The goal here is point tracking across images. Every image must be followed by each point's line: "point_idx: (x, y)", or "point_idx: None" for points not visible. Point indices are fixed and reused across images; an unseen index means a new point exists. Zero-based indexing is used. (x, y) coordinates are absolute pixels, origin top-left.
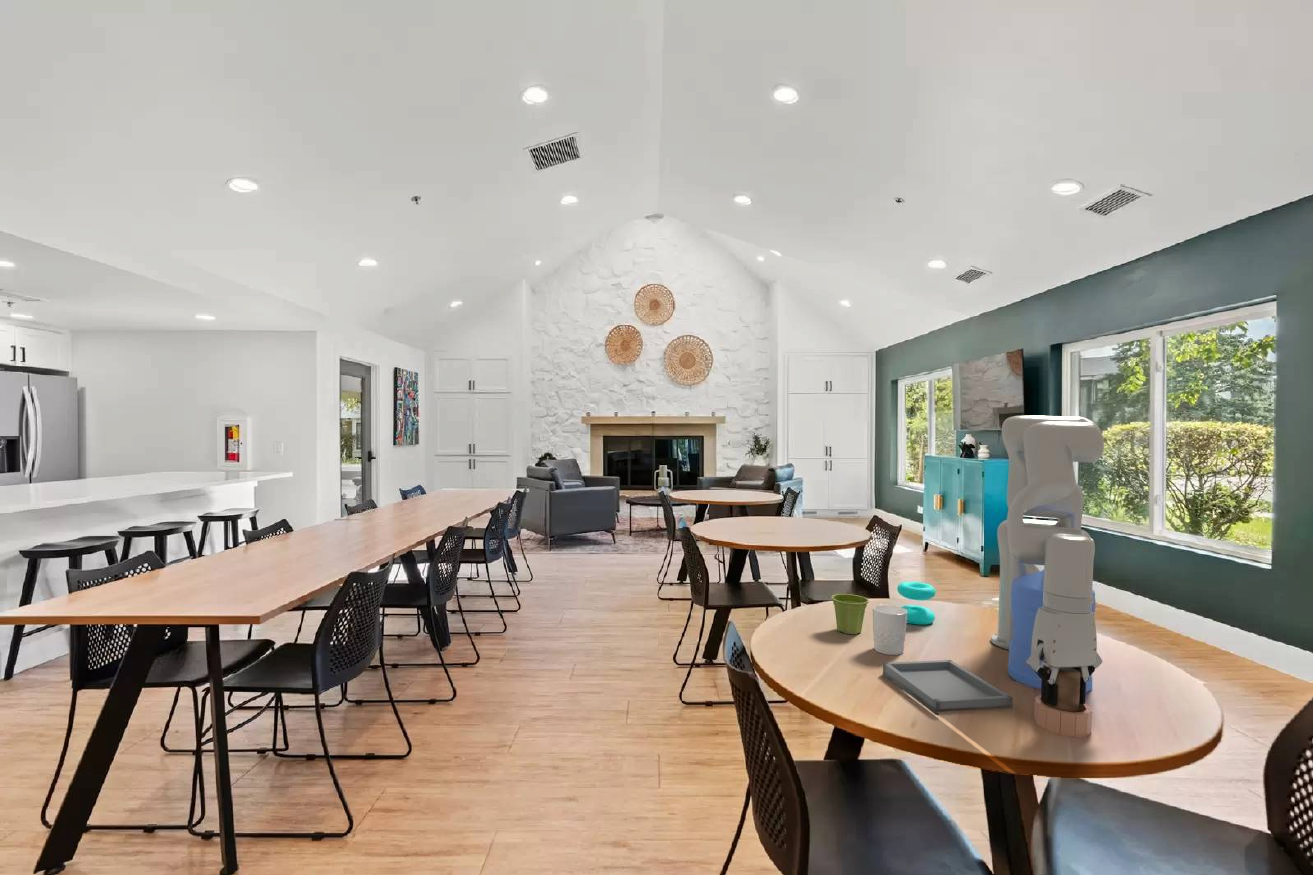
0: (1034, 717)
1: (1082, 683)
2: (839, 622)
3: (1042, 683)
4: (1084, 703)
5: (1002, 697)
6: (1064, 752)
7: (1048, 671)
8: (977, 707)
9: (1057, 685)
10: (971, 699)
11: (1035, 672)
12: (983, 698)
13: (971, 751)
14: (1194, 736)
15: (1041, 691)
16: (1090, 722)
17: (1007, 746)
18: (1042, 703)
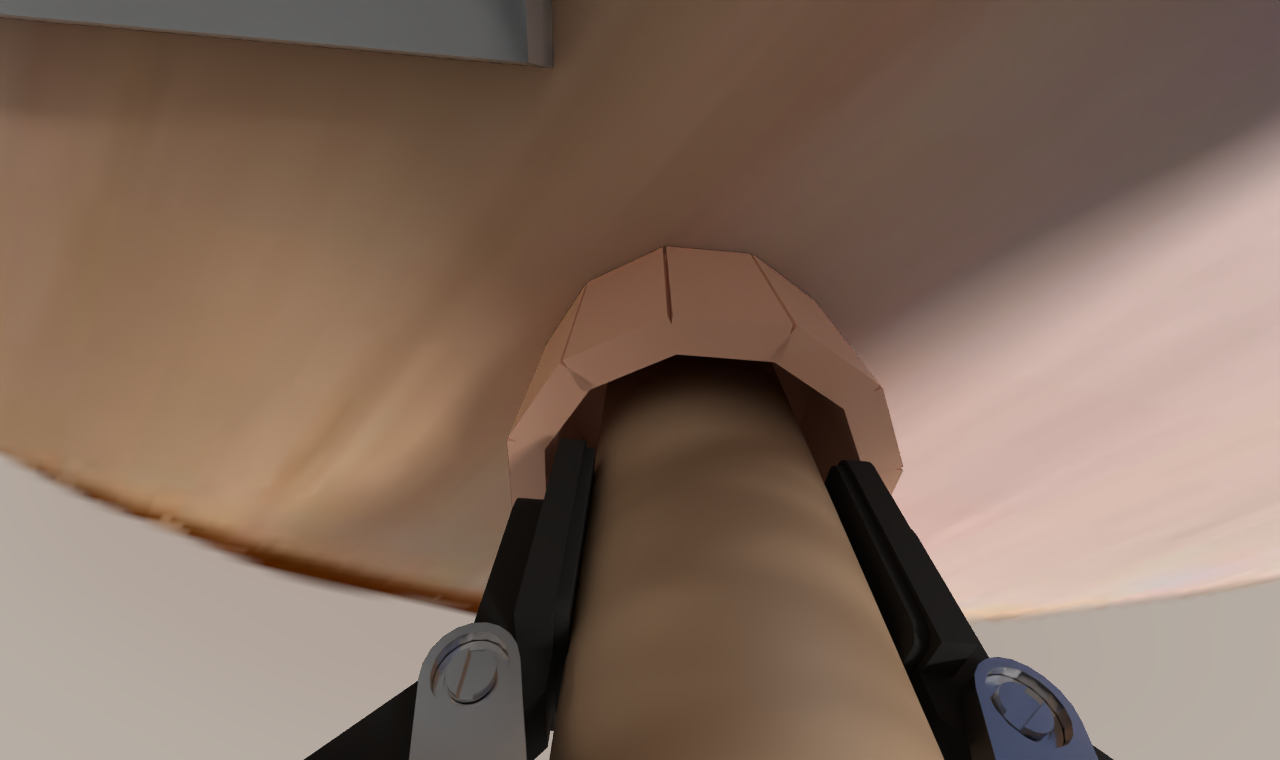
0: (577, 301)
1: None
2: None
3: (482, 613)
4: None
5: (412, 39)
6: (498, 547)
7: (571, 745)
8: (179, 32)
9: (554, 722)
10: (24, 11)
11: (310, 756)
12: (177, 13)
13: (55, 474)
14: (1241, 558)
15: (506, 528)
16: None
17: (255, 471)
18: (535, 463)
